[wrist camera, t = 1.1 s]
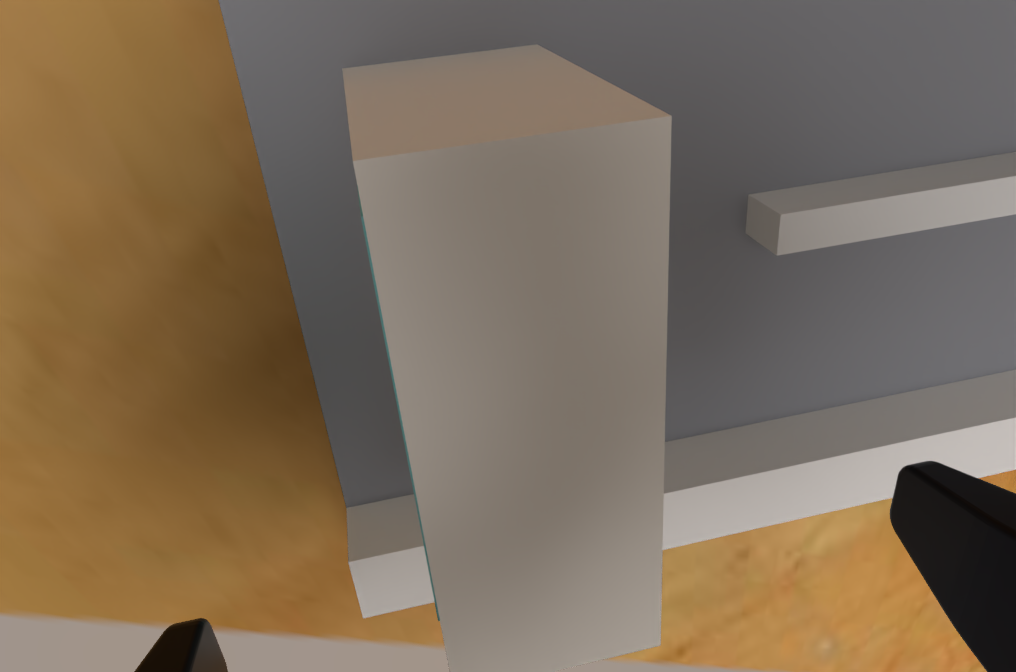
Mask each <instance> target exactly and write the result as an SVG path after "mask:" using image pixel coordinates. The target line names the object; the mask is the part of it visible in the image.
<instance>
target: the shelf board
mask: <svg viewBox="0 0 1016 672" xmlns="http://www.w3.org/2000/svg"><path fill="white" fill-rule="evenodd" d="M219 4H220V8H221V12H222V16H223V20H224V24H225V27H226V31H227V35H228V39H229V43H230V47H231V51H232V55H233V59H234V63H235V67H236V71H237V75H238V79H239V83H240V87H241V91H242V95H243V99H244V103H245V107H246V111H247V115H248V119H249V123H250V127H251V131H252V135H253V139H254V143H255V147H256V151H257V155H258V158H259V162H260V166H261V170H262V174H263V178H264V182H265V186H266V190H267V194H268V198H269V202H270V206H271V210H272V214H273V218H274V222H275V226H276V230H277V234H278V238H279V242H280V246H281V250H282V254H283V258H284V262H285V266H286V270H287V274H288V278H289V282H290V286H291V289H292V293H293V297H294V301H295V305H296V309H297V313H298V317H299V321H300V325H301V329H302V333H303V337H304V341H305V345H306V349H307V353H308V357H309V361H310V365H311V369H312V373H313V377H314V381H315V385H316V389H317V393H318V397H319V401H320V405H321V409H322V413H323V417H324V420H325V424H326V428H327V432H328V436H329V440H330V444H331V448H332V452H333V456H334V460H335V464H336V468H337V472H338V476H339V480H340V484H341V488H342V492H343V496H344V500H345V504H346V508H347V536H348V563H349V566H350V570H351V574H352V578H353V582H354V585H355V589H356V593H357V597H358V601H359V604H360V608H361V612H362V616H363V618H367V617H371V616H376V615H380V614H385V613H389V612H393V611H398V610H402V609H407V608H411V607H415V606H420V605H424V604H428V603H433V602H435V601H434V596H433V591H432V586H431V580H430V575H429V570H428V565H427V560H426V554H425V549H424V544H423V539H422V533H421V528H420V523H419V518H418V513H417V507H416V502H415V497H414V492H413V486H412V481H411V476H410V471H409V466H408V460H407V455H406V450H405V445H404V439H403V434H402V429H401V424H400V419H399V413H398V408H397V403H396V398H395V392H394V387H393V382H392V377H391V372H390V366H389V361H388V356H387V351H386V345H385V340H384V335H383V330H382V325H381V319H380V314H379V309H378V304H377V298H376V293H375V288H374V283H373V278H372V272H371V267H370V262H369V257H368V251H367V246H366V241H365V236H364V231H363V225H362V220H361V214H360V205H359V197H358V189H357V181H356V175H355V170H354V165H353V159H352V150H351V141H350V132H349V124H348V115H347V106H346V97H345V89H344V80H343V71H342V68H351V67H359V66H367V65H375V64H383V63H391V62H399V61H407V60H415V59H423V58H431V57H439V56H447V55H455V54H463V53H471V52H480V51H488V50H496V49H504V48H512V47H520V46H528V45H536V44H537V45H539V46H541V47H543V48H545V49H547V50H549V51H551V52H552V53H554V54H556V55H558V56H560V57H562V58H564V59H566V60H568V61H569V62H571V63H573V64H575V65H577V66H579V67H581V68H583V69H584V70H586V71H588V72H590V73H592V74H594V75H596V76H598V77H600V78H601V79H603V80H605V81H607V82H609V83H611V84H613V85H615V86H616V87H618V88H620V89H622V90H624V91H626V92H628V93H630V94H631V95H633V96H635V97H637V98H639V99H641V100H643V101H645V102H647V103H648V104H650V105H652V106H654V107H656V108H658V109H660V110H662V111H663V112H665V113H667V114H669V115H671V116H672V125H671V172H670V219H669V266H668V313H667V361H666V408H665V455H664V502H663V549H662V550H665V549H670V548H674V547H678V546H683V545H687V544H691V543H696V542H700V541H705V540H709V539H713V538H718V537H722V536H726V535H731V534H735V533H740V532H744V531H748V530H753V529H757V528H762V527H766V526H770V525H775V524H779V523H783V522H788V521H792V520H797V519H801V518H805V517H810V516H814V515H819V514H823V513H827V512H832V511H836V510H840V509H845V508H849V507H854V506H858V505H862V504H867V503H871V502H875V501H880V500H884V499H889V498H893V495H894V490H895V486H896V481H897V477H898V473H899V471H900V470H901V469H902V468H903V467H904V466H906V465H911V464H915V463H920V462H925V461H935V462H938V463H941V464H943V465H946V466H948V467H951V468H953V469H956V470H958V471H961V472H963V473H966V474H968V475H971V476H973V477H976V478H981V477H985V476H989V475H994V474H998V473H1003V472H1007V471H1011V470H1016V0H219Z"/></svg>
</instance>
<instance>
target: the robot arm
mask: <svg viewBox="0 0 1016 672" xmlns="http://www.w3.org/2000/svg"><path fill="white" fill-rule="evenodd" d="M890 519H891V523H892V526H893V528H894V530H895V532H896V534H897V536H898V537H899V539H900V540H901V542H902V544H903V545H904V547H905V549H906V550H907V552H908V553H909V555H910V557H911V558H912V560H913V561H914V563H915V565H916V566H917V568H918V570H919V571H920V573H921V574H922V576H923V578H924V579H925V581H926V583H927V584H928V586H929V587H930V589H931V591H932V592H933V594H934V596H935V597H936V599H937V600H938V602H939V604H940V605H941V607H942V609H943V610H944V612H945V613H946V615H947V616H948V618H949V619H950V621H951V623H952V624H953V626H954V627H955V629H956V630H957V632H958V633H959V634H960V636H961V637H962V638H963V640H964V641H965V643H966V644H967V645H968V647H969V648H970V649H971V651H972V652H973V653H974V655H975V656H976V657H977V659H978V660H979V661H980V663H981V664H982V665H983V667H984V668H985V669H986V671H987V672H1016V494H1015V493H1013V492H1010V491H1008V490H1005V489H1003V488H1000V487H998V486H996V485H993V484H991V483H988V482H986V481H983V480H981V479H978V478H976V477H973V476H971V475H968V474H966V473H963V472H961V471H958V470H956V469H953V468H951V467H948V466H946V465H943V464H941V463H938V462H935V461H925V462H920V463H915V464H911V465H906V466H904V467H903V468H902V469H901V470H900V471H899V473H898V477H897V481H896V486H895V490H894V495H893V499H892V503H891V508H890ZM135 672H228V671H227V666H226V662H225V659H224V657H223V654H222V652H221V649H220V647H219V644H218V642H217V639H216V637H215V634H214V632H213V629H212V627H211V625H210V623H209V622H208V621H207V620H206V619H203V618H199V619H194V620H190V621H185V622H181V623H176V624H173V625H171V626H169V627H168V628H167V629H166V630H165V631H164V632H163V634H162V635H161V636H160V638H159V639H158V640H157V642H156V643H155V644H154V646H153V647H152V649H151V650H150V651H149V653H148V654H147V655H146V657H145V658H144V659H143V661H142V662H141V664H140V665H139V666H138V668H137V669H136V671H135Z"/></svg>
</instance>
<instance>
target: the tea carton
mask: <svg viewBox="0 0 1016 672" xmlns="http://www.w3.org/2000/svg"><path fill="white" fill-rule="evenodd" d="M342 71H343V80H344V89H345V97H346V106H347V115H348V124H349V132H350V141H351V150H352V159H353V165H354V170H355V175H356V181H357V189H358V197H359V205H360V214H361V220H362V225H363V231H364V236H365V241H366V246H367V251H368V257H369V262H370V267H371V272H372V278H373V283H374V288H375V293H376V298H377V304H378V309H379V314H380V319H381V325H382V330H383V335H384V340H385V345H386V351H387V356H388V361H389V366H390V372H391V377H392V382H393V387H394V392H395V398H396V403H397V408H398V413H399V419H400V424H401V429H402V434H403V439H404V445H405V450H406V455H407V460H408V466H409V471H410V476H411V481H412V486H413V492H414V497H415V502H416V507H417V513H418V518H419V523H420V528H421V533H422V539H423V544H424V549H425V554H426V560H427V565H428V570H429V575H430V580H431V586H432V591H433V596H434V601H435V607H436V612H437V617H438V621H440V623H441V629H442V634H443V639H444V644H445V650H446V655H447V660H448V665H449V671H450V672H555V671H559V670H563V669H567V668H571V667H575V666H579V665H583V664H587V663H592V662H596V661H600V660H604V659H608V658H612V657H616V656H620V655H624V654H628V653H632V652H636V651H640V650H644V649H648V648H652V647H656V646H660V644H661V597H662V549H663V502H664V455H665V408H666V361H667V313H668V266H669V219H670V172H671V125H672V116H671V115H669V114H667V113H665V112H663V111H662V110H660V109H658V108H656V107H654V106H652V105H650V104H648V103H647V102H645V101H643V100H641V99H639V98H637V97H635V96H633V95H631V94H630V93H628V92H626V91H624V90H622V89H620V88H618V87H616V86H615V85H613V84H611V83H609V82H607V81H605V80H603V79H601V78H600V77H598V76H596V75H594V74H592V73H590V72H588V71H586V70H584V69H583V68H581V67H579V66H577V65H575V64H573V63H571V62H569V61H568V60H566V59H564V58H562V57H560V56H558V55H556V54H554V53H552V52H551V51H549V50H547V49H545V48H543V47H541V46H539V45H537V44H536V45H528V46H520V47H512V48H504V49H496V50H488V51H480V52H471V53H463V54H455V55H447V56H439V57H431V58H423V59H415V60H407V61H399V62H391V63H383V64H375V65H367V66H359V67H351V68H342Z"/></svg>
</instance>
